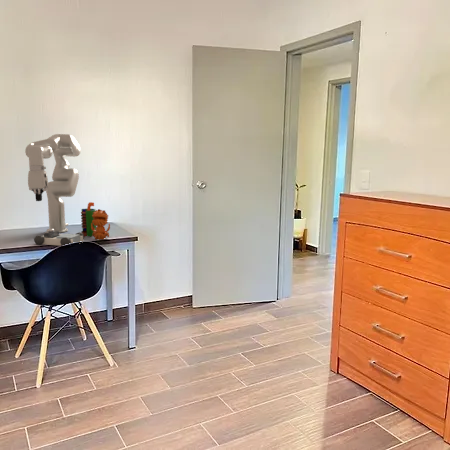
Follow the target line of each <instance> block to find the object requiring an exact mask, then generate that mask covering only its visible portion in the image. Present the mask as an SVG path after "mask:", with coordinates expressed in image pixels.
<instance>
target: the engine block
mask: <svg viewBox="0 0 450 450" xmlns="http://www.w3.org/2000/svg"><path fill="white" fill-rule="evenodd" d="M47 229H48V231H47V230H46V231H45V232H43V236H44V238H54V237H57V236H59V234H60V233H59V231H54V229H49V228H47Z"/></svg>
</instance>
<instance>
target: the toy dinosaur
mask: <svg viewBox="0 0 450 450" xmlns="http://www.w3.org/2000/svg"><path fill="white" fill-rule="evenodd" d="M95 210H96V211H95V212H93V215H92V217H93V218H94V220H93V221H92V223H91V229H92V230H93V231H94V232H93V235H92V236H91V237H92V238H94V239H95V240H97V239H102V240H105V239H104V238H109V237H110V234H109V231H110V229H111V224H110V223H109V222H108V219H109V214H108V213H107V212H106V210H103V209H95ZM93 224H94V225H95V226H96V230H95V228H94V227H93ZM107 224H108V226H107V227H108V228H107V229H106V228H105V226H106V225H107Z"/></svg>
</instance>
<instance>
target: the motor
mask: <svg viewBox="0 0 450 450" xmlns="http://www.w3.org/2000/svg"><path fill="white" fill-rule="evenodd" d="M94 206H95V203H94V202H91V201H90V202H88V203H87V208H80V209H81V211H80V214H81V215H80V217H81V218H80V219H81V220H80V221H81V222H80V224H81V228H82V231H80V232H81V233H82V234H83V235H84V237H87V236H90V237H92V235H93V232H94V231H93V230H92V229H91V223H92V221H93V220H94V218H93V217H92V215H93V212H95V211H96V210H97V209H96V208H91V207H94ZM93 227H94V228H95V230H96V227H97V226H95V225H94V224H93Z"/></svg>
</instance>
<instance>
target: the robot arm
mask: <svg viewBox="0 0 450 450" xmlns="http://www.w3.org/2000/svg"><path fill="white" fill-rule="evenodd" d="M24 151H25V152H24V153H25V156H26V157H27V158H28V166H29V167H28V168H29V170H28V175H27V185H28V190H29V191H32V192H33V193H34V195H35V201H36V202H41V201H42V200H43V193H44V192H46V193H45V194H46V197H47V206H48V207H47V208H48V226H49V227H48V228H47V229H46V232H47V231H48V229H54V231H59V234H63V233H66V232H69V229H68V228H67V227H68V226H69V223H67V222H66V217H65V216H66V213H65V202H64V200H63V199H62V198H63V197H65V198H71V197H74V196H75V193H76V190H77V186H78V183H79V178H80V176H79V171H78V170H77V169H76V168H71V167H70V165H71V164H70V163H69V161H68V160H67V159H66V158H65V157H74V158H75V157H78V156H80V154H81V146H80V144H79V143H78V141H77V140H76V138H75V137H74V136H73V135H71V134H68V133H65V134H64V133H55V134H53V135H51V136H49V137H48V138H45V139H40V140H37V141H32V142H30V143H29V144H27V146H26V147H25V150H24ZM52 156H53V157H54V160H55V166H54V168H53V172H52V176H51V178H52V180H51V181H49V180H48V175H47V171H46V169H47V167H46V166H45V163H44V162H45V161H44V160H45V159H50V158H52Z"/></svg>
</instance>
